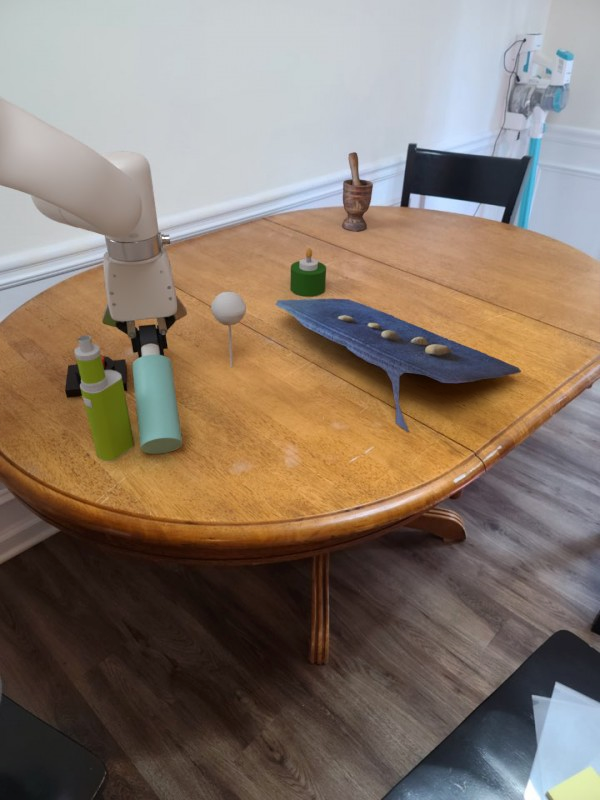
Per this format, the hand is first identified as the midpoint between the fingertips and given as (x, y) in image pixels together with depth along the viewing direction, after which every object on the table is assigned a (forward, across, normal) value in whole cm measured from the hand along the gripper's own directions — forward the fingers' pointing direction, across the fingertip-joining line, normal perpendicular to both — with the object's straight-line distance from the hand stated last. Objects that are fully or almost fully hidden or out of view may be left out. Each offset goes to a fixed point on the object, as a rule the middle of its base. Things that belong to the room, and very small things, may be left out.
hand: (151, 352), depth 92 cm
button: (+6, +10, -7) cm, 13 cm away
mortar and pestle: (+10, -63, -77) cm, 100 cm away
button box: (+9, +10, -7) cm, 15 cm away
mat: (+9, -43, -3) cm, 44 cm away
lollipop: (+9, -14, -6) cm, 18 cm away
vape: (+9, +7, +13) cm, 17 cm away
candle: (+10, -37, -36) cm, 53 cm away
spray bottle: (+6, 0, +17) cm, 18 cm away
